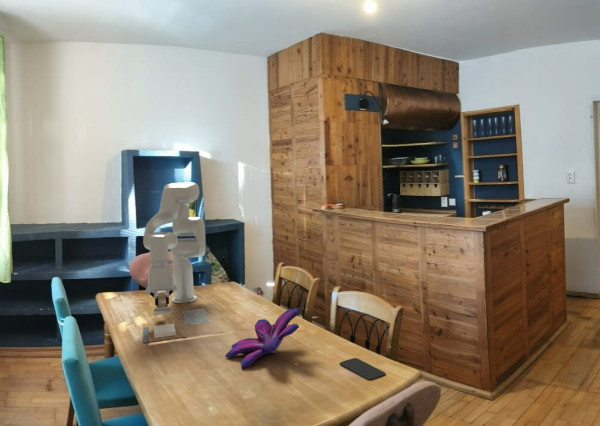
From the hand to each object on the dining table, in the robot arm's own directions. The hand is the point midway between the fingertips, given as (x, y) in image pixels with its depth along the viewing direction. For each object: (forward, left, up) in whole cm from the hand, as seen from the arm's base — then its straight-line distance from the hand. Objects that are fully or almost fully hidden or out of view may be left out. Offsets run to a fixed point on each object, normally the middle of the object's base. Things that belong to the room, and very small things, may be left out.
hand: (162, 306), depth 191 cm
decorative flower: (+49, +32, -8) cm, 59 cm away
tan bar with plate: (0, 0, -1) cm, 1 cm away
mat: (+11, 0, -8) cm, 14 cm away
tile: (+14, 0, -7) cm, 15 cm away
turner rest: (-3, +14, -8) cm, 16 cm away
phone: (+73, +57, -9) cm, 93 cm away
